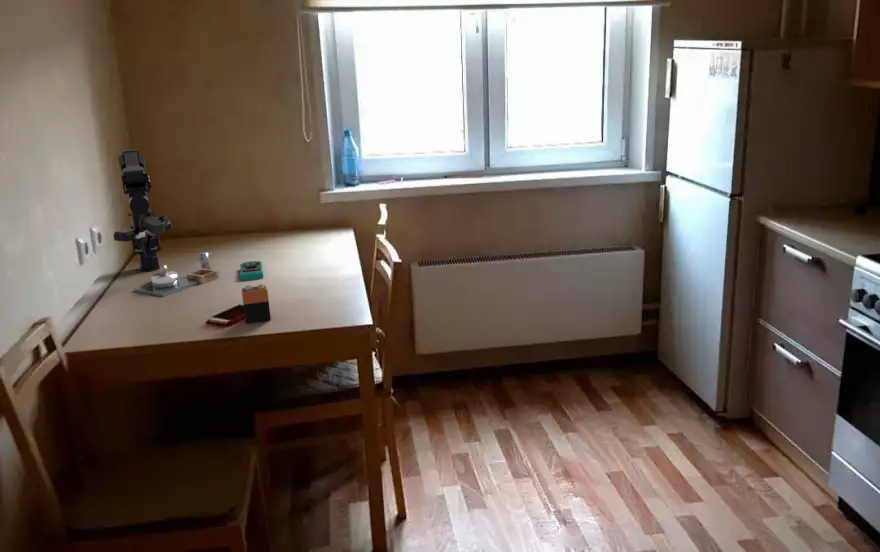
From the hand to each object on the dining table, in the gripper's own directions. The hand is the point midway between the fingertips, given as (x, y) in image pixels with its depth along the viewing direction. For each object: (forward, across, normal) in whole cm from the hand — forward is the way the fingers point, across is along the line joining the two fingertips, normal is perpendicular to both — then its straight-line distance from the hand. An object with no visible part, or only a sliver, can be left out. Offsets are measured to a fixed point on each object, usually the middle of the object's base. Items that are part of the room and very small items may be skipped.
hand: (147, 256), depth 253 cm
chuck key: (+9, +16, -9) cm, 20 cm away
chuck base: (+9, -2, -9) cm, 13 cm away
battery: (+10, -13, -58) cm, 61 cm away
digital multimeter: (+10, +21, -24) cm, 34 cm away
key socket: (+9, +9, -14) cm, 19 cm away
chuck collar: (+8, +1, -6) cm, 10 cm away
